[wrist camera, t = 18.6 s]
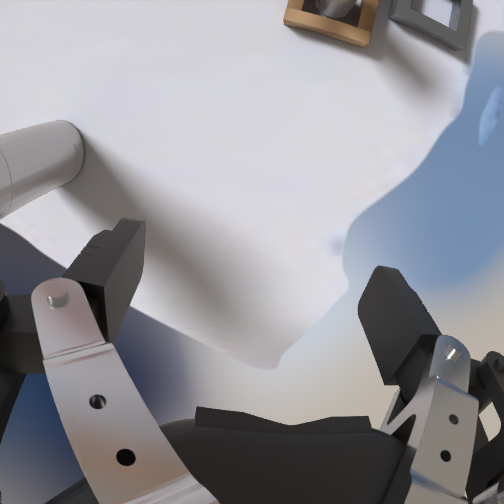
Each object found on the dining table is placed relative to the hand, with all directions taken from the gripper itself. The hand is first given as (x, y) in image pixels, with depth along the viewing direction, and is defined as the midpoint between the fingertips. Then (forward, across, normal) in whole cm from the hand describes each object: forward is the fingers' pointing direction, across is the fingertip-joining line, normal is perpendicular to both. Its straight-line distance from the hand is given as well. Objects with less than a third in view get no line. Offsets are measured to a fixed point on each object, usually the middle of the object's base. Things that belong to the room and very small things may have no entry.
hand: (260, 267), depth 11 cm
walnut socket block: (+27, -5, -18) cm, 33 cm away
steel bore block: (+26, -16, -23) cm, 38 cm away
